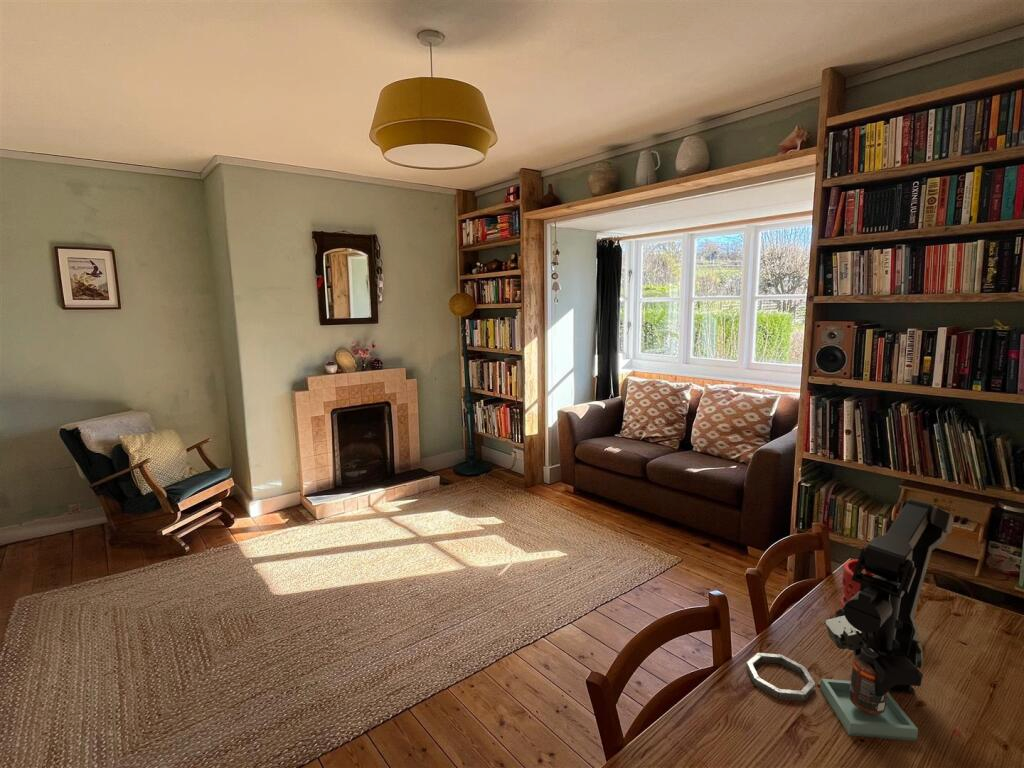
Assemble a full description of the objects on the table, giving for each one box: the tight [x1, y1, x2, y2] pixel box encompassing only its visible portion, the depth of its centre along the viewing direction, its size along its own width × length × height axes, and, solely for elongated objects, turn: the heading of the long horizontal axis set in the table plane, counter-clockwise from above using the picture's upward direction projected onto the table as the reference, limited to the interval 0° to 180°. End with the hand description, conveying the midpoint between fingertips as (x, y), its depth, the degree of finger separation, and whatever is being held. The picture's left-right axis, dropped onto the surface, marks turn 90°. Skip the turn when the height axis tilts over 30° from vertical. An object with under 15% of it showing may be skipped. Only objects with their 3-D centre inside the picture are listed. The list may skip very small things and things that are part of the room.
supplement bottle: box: [849, 646, 889, 714], centre depth 102 cm, size 6×6×11 cm
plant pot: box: [840, 558, 875, 608], centre depth 134 cm, size 13×13×12 cm
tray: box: [819, 678, 919, 742], centre depth 103 cm, size 12×12×2 cm
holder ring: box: [746, 652, 816, 702], centre depth 112 cm, size 12×12×2 cm
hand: (869, 683), depth 102 cm, fingers closed on supplement bottle, 6 cm apart
